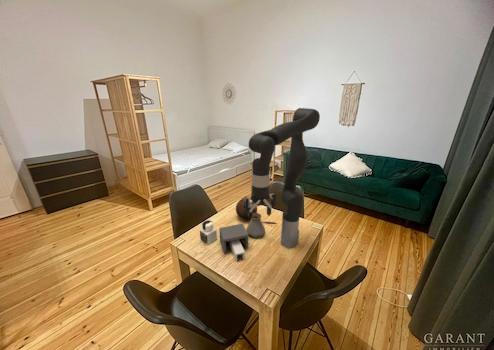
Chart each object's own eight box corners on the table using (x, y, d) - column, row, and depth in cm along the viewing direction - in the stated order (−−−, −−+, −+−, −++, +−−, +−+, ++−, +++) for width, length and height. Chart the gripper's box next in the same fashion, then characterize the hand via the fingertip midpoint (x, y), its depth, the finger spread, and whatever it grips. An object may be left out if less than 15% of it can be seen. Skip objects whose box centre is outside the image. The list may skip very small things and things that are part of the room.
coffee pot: (242, 233, 127) (242, 212, 122) (255, 225, 135) (255, 206, 130) (268, 250, 113) (270, 227, 108) (281, 240, 121) (282, 219, 115)
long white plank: (228, 242, 120) (228, 235, 118) (236, 240, 121) (236, 233, 119) (235, 261, 106) (235, 254, 104) (244, 259, 107) (244, 252, 105)
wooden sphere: (259, 222, 139) (260, 202, 134) (238, 225, 135) (238, 205, 130) (253, 211, 152) (253, 193, 147) (233, 213, 149) (233, 195, 143)
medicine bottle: (200, 239, 122) (198, 222, 117) (209, 234, 127) (208, 217, 122) (207, 245, 117) (206, 227, 113) (217, 239, 122) (216, 222, 118)
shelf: (248, 248, 115) (248, 234, 111) (224, 254, 110) (223, 239, 107) (242, 236, 124) (242, 223, 121) (220, 241, 120) (219, 228, 117)
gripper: (272, 178, 90) (270, 209, 96) (241, 182, 86) (241, 214, 92) (279, 184, 84) (277, 218, 89) (247, 189, 79) (247, 224, 85)
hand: (259, 216), depth 91 cm, fingers open, 8 cm apart
